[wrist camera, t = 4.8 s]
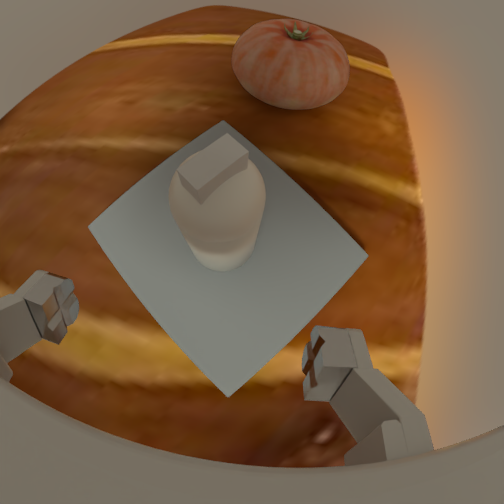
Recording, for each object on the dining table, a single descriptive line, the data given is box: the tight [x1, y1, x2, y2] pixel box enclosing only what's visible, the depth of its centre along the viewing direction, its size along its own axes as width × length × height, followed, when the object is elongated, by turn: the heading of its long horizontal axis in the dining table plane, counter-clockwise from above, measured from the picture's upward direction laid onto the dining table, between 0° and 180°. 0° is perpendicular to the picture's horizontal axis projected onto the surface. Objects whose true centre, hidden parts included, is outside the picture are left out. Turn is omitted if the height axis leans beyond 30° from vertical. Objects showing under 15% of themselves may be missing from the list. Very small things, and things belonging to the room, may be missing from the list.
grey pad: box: [88, 120, 368, 397], centre depth 19 cm, size 16×14×1 cm
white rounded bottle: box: [168, 133, 266, 272], centre depth 14 cm, size 4×4×10 cm
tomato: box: [231, 19, 350, 110], centre depth 21 cm, size 11×11×8 cm
